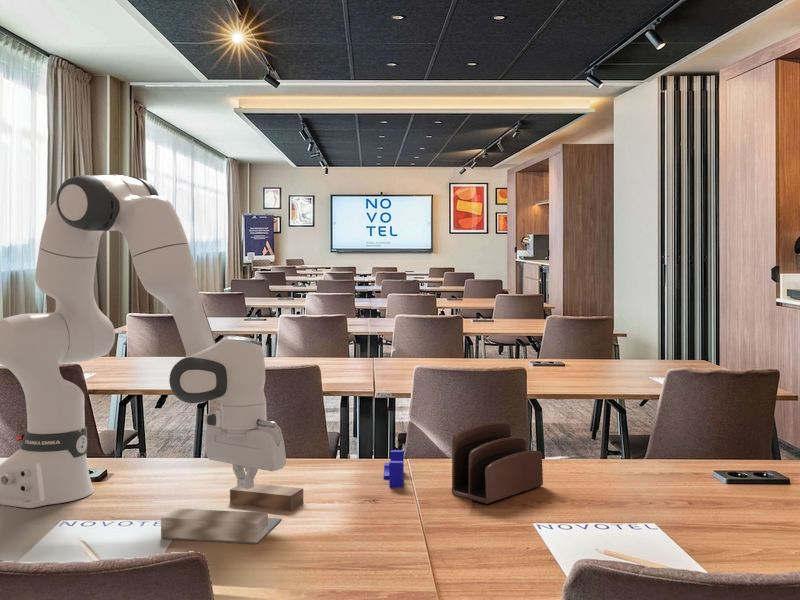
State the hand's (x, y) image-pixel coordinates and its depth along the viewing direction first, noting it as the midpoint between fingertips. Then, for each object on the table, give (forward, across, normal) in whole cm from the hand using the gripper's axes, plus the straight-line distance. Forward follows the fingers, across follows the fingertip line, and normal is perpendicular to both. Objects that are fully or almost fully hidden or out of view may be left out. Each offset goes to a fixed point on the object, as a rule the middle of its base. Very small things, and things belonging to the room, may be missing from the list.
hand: (245, 487), depth 145 cm
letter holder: (+6, -32, -44) cm, 55 cm away
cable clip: (+6, -9, -36) cm, 37 cm away
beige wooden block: (+5, -6, +12) cm, 15 cm away
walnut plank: (+6, +1, -6) cm, 9 cm away
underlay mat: (+5, -4, +9) cm, 11 cm away
